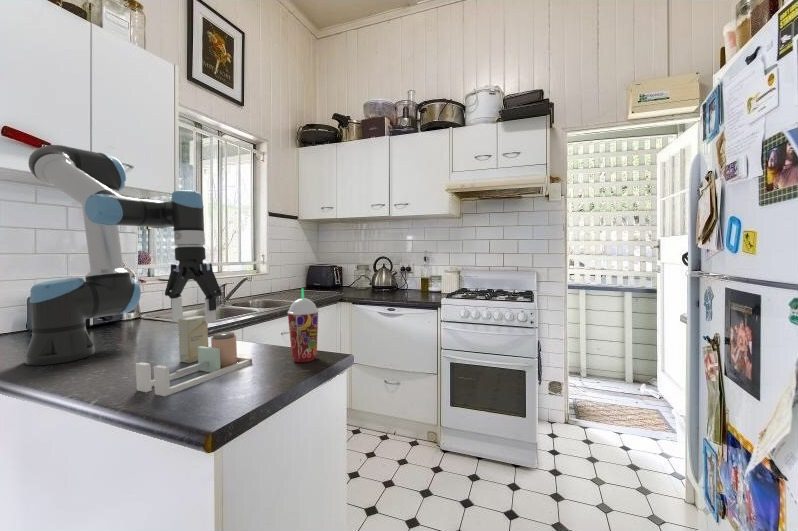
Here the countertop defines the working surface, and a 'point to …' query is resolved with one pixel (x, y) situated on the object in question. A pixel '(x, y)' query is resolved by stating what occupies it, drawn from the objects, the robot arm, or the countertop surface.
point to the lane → (164, 377)
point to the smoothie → (303, 329)
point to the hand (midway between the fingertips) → (193, 321)
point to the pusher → (204, 361)
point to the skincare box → (192, 337)
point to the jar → (225, 348)
